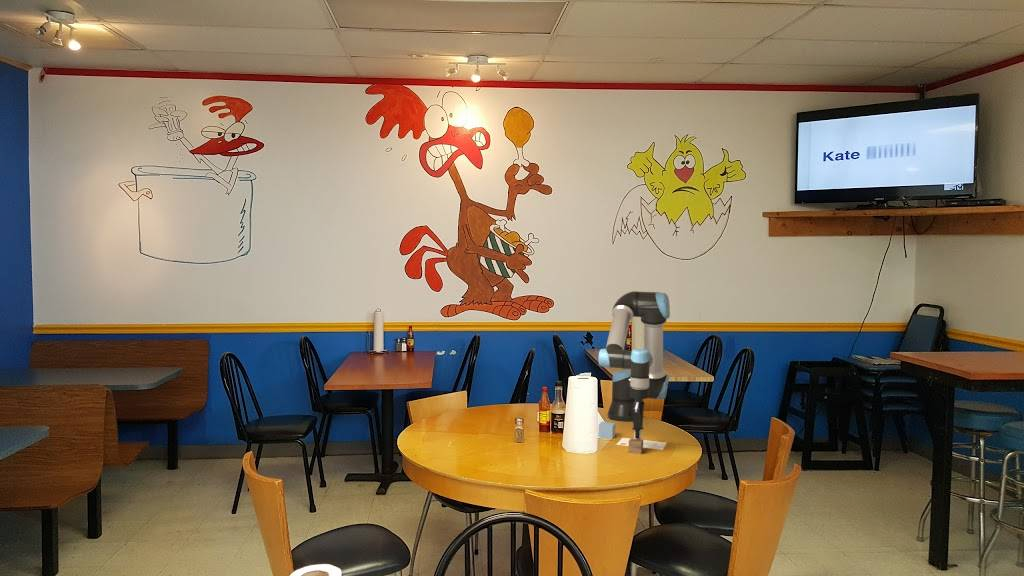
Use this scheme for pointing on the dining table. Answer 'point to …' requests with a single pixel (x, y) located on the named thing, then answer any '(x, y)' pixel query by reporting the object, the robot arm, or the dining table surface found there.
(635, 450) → the walnut block
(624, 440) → the letter mat
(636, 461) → the dining table surface
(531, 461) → the dining table surface
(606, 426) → the blue cube
